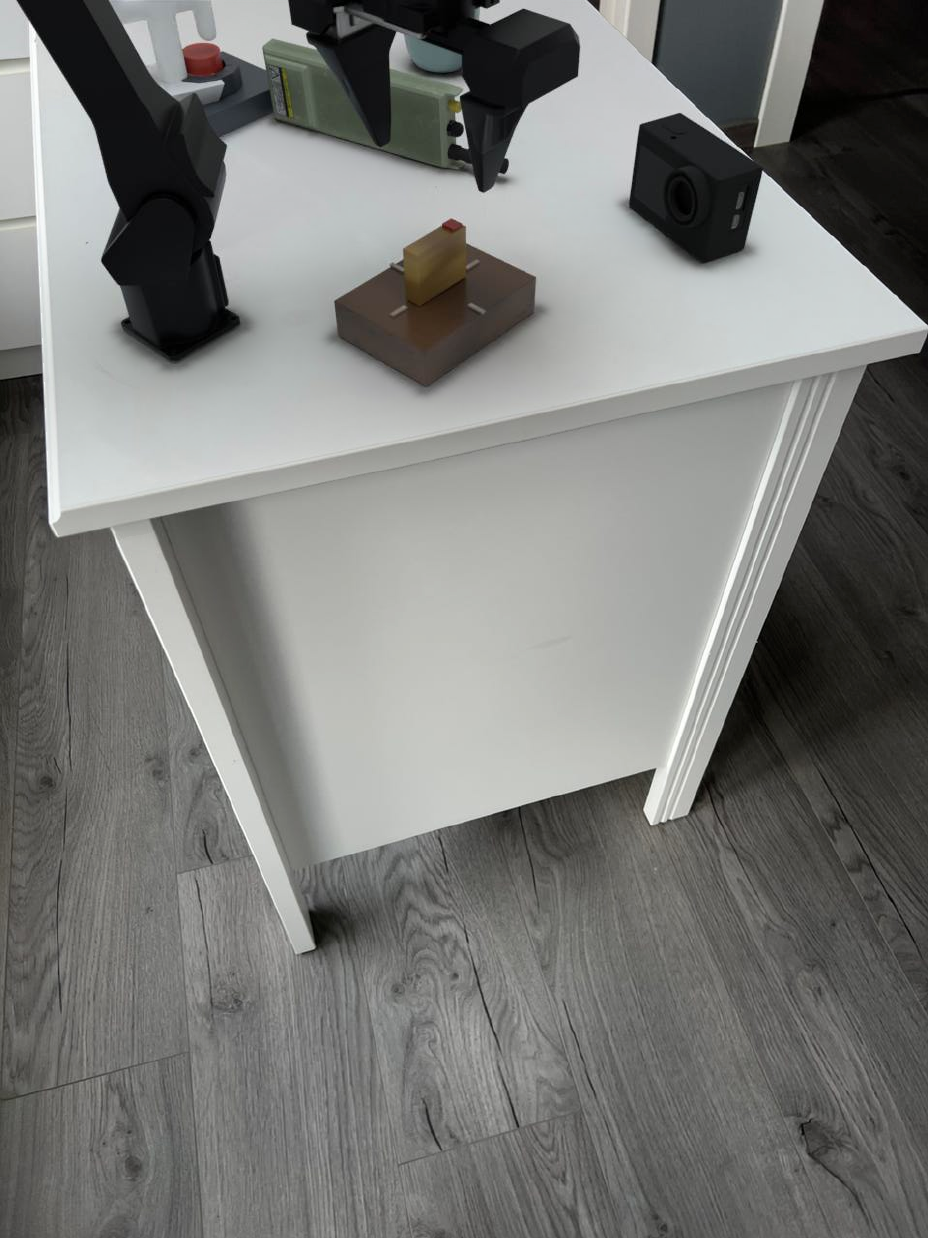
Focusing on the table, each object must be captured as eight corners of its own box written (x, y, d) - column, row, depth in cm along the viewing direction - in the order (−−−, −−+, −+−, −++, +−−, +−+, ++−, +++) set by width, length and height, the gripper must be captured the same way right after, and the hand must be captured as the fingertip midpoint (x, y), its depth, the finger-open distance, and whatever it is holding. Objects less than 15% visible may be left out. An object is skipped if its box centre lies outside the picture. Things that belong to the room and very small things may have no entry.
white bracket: (243, 120, 95) (211, -63, 83) (146, 144, 92) (99, -42, 80) (216, 91, 99) (181, -88, 87) (122, 113, 96) (74, -69, 84)
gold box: (419, 306, 71) (417, 252, 68) (405, 299, 72) (402, 244, 68) (466, 276, 73) (466, 222, 70) (452, 269, 74) (451, 215, 71)
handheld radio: (290, 107, 97) (516, 171, 89) (269, 122, 95) (498, 189, 87) (278, 33, 91) (517, 95, 83) (256, 48, 90) (498, 112, 82)
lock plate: (427, 387, 70) (425, 350, 68) (336, 335, 74) (332, 297, 71) (535, 312, 76) (537, 275, 73) (446, 267, 79) (445, 230, 77)
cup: (471, 84, 100) (471, -29, 92) (395, 77, 101) (389, -35, 93) (485, 51, 104) (487, -59, 97) (413, 45, 105) (409, -64, 98)
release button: (201, 82, 92) (197, 62, 91) (176, 70, 94) (172, 50, 92) (231, 69, 94) (227, 49, 93) (207, 58, 95) (203, 38, 94)
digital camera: (615, 208, 85) (625, 125, 79) (667, 192, 87) (680, 109, 81) (690, 268, 79) (706, 183, 74) (744, 249, 81) (763, 165, 75)
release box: (195, 148, 92) (185, 103, 89) (129, 114, 96) (118, 71, 93) (292, 103, 97) (286, 59, 94) (226, 73, 101) (219, 30, 98)
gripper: (653, -123, 53) (621, 165, 65) (400, -184, 61) (414, 83, 73) (519, -65, 48) (512, 235, 60) (262, -139, 56) (302, 139, 68)
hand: (433, 166), depth 65 cm, fingers open, 9 cm apart
